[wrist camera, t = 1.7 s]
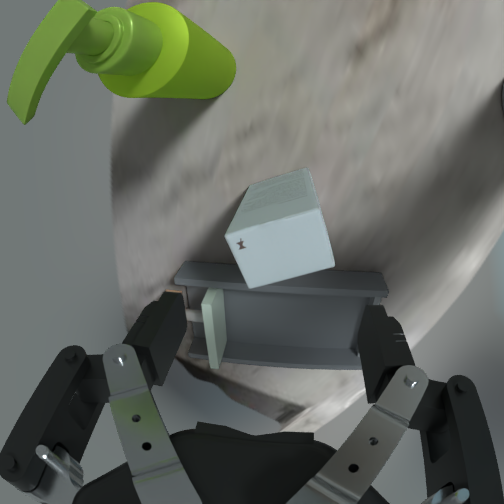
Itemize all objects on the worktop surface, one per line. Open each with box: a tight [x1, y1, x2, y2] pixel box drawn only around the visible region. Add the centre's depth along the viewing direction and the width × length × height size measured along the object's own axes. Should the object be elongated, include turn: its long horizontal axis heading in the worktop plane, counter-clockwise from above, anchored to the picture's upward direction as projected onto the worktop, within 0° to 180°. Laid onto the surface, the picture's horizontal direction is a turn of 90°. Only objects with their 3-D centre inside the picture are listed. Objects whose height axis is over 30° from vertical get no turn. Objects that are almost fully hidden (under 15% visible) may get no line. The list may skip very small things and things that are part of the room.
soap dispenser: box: [7, 0, 236, 125], centre depth 15 cm, size 6×7×20 cm
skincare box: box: [224, 168, 335, 289], centre depth 23 cm, size 6×4×12 cm
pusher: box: [166, 287, 227, 369], centre depth 33 cm, size 7×10×5 cm
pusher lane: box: [174, 261, 389, 370], centre depth 33 cm, size 22×12×4 cm, turn 90°
